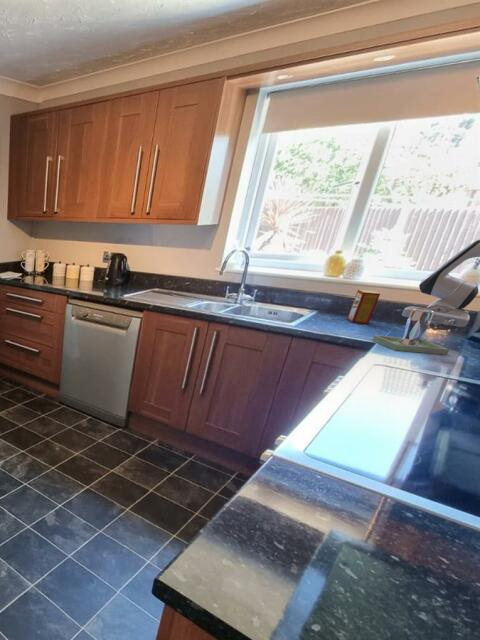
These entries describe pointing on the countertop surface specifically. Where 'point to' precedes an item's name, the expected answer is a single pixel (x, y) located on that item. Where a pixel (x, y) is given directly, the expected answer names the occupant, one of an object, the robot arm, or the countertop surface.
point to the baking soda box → (363, 306)
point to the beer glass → (416, 326)
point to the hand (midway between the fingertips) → (431, 320)
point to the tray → (423, 346)
